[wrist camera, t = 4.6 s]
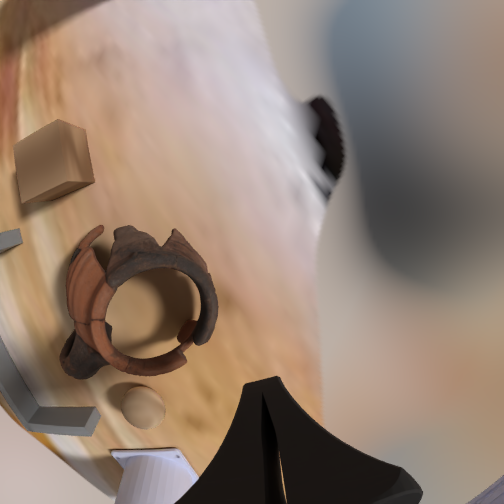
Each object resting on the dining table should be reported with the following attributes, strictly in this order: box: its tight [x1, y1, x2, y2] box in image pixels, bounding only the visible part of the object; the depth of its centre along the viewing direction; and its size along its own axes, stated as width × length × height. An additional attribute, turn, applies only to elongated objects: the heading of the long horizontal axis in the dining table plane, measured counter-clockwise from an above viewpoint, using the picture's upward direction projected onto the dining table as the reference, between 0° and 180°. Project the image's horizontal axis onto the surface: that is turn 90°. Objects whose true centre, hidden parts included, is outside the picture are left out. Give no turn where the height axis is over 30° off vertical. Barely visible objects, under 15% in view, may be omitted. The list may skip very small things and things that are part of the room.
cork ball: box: [121, 386, 166, 429], centre depth 19 cm, size 4×4×4 cm
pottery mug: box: [60, 225, 218, 379], centre depth 17 cm, size 12×10×8 cm
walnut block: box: [13, 119, 95, 204], centre depth 15 cm, size 4×4×4 cm
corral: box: [0, 228, 101, 436], centre depth 18 cm, size 18×9×3 cm, turn 14°
